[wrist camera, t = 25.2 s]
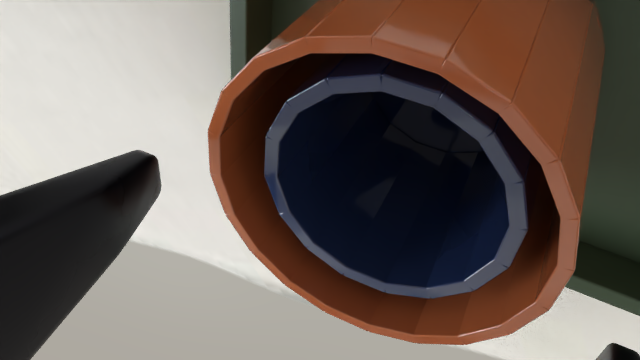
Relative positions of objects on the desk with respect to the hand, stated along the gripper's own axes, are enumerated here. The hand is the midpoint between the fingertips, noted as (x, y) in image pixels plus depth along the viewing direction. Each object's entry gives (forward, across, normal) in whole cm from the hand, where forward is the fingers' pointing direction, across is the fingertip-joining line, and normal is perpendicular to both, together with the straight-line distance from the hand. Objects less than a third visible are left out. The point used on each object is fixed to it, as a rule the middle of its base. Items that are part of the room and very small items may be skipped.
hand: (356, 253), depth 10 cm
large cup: (+8, 0, 0) cm, 8 cm away
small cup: (+7, 0, 0) cm, 7 cm away
